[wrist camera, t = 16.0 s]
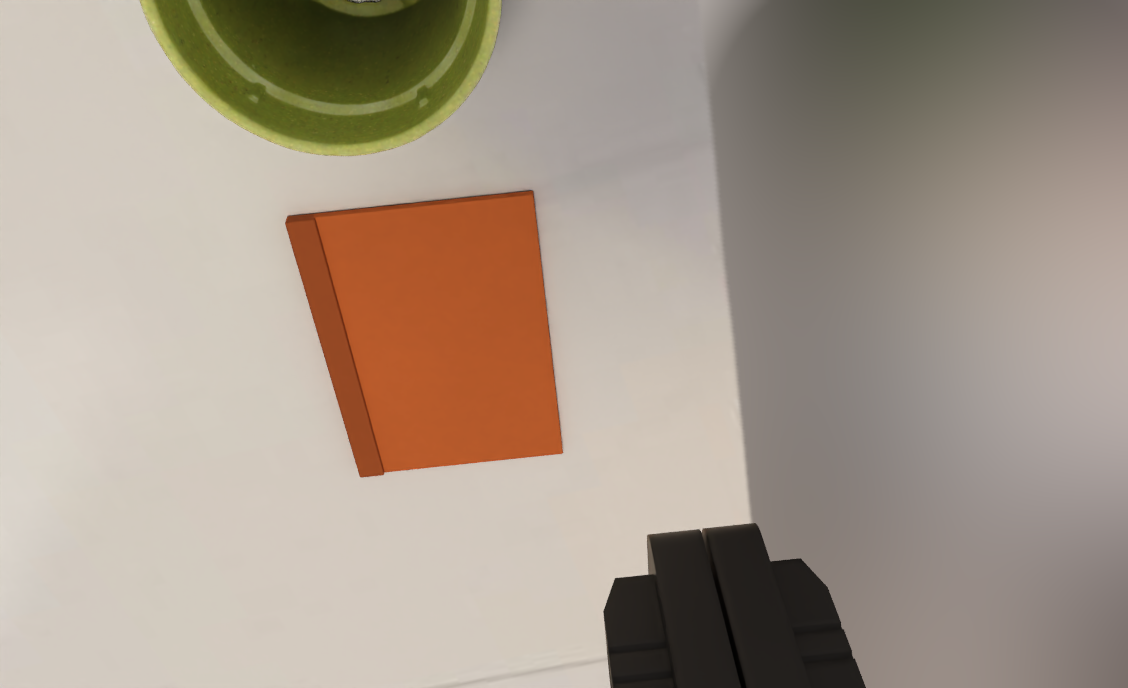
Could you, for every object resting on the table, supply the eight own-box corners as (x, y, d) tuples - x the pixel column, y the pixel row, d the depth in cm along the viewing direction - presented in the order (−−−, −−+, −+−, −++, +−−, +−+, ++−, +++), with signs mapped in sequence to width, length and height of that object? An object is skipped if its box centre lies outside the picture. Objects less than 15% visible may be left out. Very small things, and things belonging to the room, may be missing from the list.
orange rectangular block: (287, 216, 36) (284, 222, 36) (532, 190, 36) (533, 196, 36) (361, 469, 44) (359, 478, 44) (562, 448, 44) (563, 456, 44)
